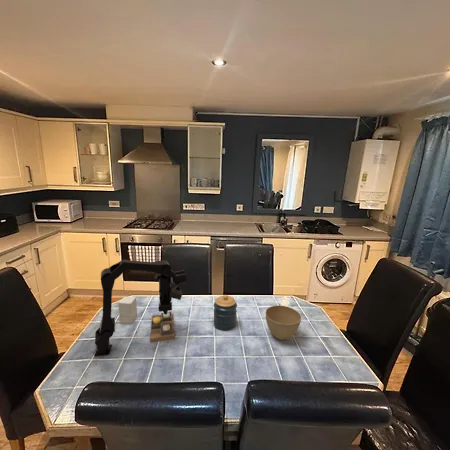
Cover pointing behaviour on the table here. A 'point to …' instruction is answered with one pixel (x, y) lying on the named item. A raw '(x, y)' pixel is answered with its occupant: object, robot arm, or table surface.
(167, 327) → the cream button
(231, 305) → the canister
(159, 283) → the robot arm
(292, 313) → the tan bowl
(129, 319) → the supplement box
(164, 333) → the brown button box
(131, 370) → the table surface
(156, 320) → the mustard button
